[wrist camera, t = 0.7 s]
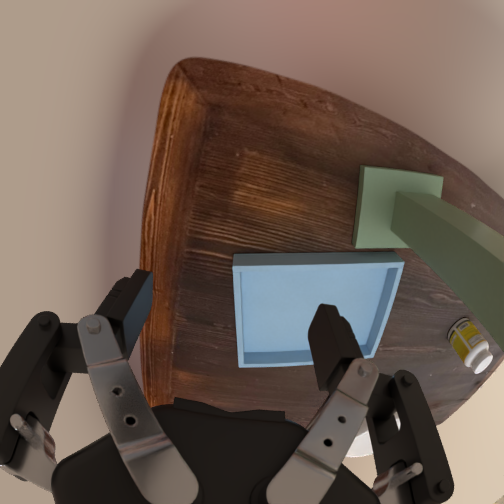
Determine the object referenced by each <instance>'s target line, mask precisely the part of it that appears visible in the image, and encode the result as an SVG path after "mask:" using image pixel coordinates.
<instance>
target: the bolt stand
mask: <svg viewBox="0 0 504 504" xmlns="http://www.w3.org/2000/svg"><path fill="white" fill-rule="evenodd" d="M442 185H443V177H442V176H439V175H436V174H430V173H424V172H417V171H410V170H402V169H394V168H386V167H376V166H366V165H360V175H359V187H358V197H357V207H356V215H355V223H354V231H353V238H352V244H353V246H354V247H355V248H411V249H412V250H413V251H414V252H415V253H416V254H417V255H418V256H419V257H420V258H421V259H422V260H423V261H424V262H425V263H426V264H427V265H428V266H429V267H430V268H431V269H432V270H433V271H434V272H435V273H436V274H437V275H438V276H439V277H440V278H441V279H442V280H443V281H444V282H445V283H446V284H447V285H448V286H449V287H450V288H451V289H452V290H453V291H454V293H455V294H456V295H457V296H458V297H459V298H460V299H461V300H462V301H463V302H464V304H465V305H466V306H467V307H468V308H469V309H470V310H471V312H472V313H473V314H474V315H475V316H476V318H477V319H478V320H479V321H480V322H481V324H482V325H483V326H484V327H485V328H486V330H487V331H488V332H489V333H490V335H491V336H492V337H493V339H494V340H495V341H496V343H497V344H498V345H499V347H500V348H501V349H502V351H503V352H504V237H503V236H502V235H500V234H499V233H497V232H496V231H494V230H493V229H491V228H490V227H488V226H487V225H485V224H484V223H482V222H480V221H479V220H477V219H475V218H474V217H472V216H470V215H469V214H467V213H465V212H464V211H462V210H460V209H458V208H457V207H455V206H453V205H451V204H449V203H448V202H446V201H444V200H442V199H440V198H441V192H442Z"/></svg>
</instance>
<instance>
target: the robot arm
mask: <svg viewBox="0 0 504 504" xmlns="http://www.w3.org/2000/svg"><path fill="white" fill-rule="evenodd" d="M152 290H153V273H152V272H150V271H145V270H141V269H136V270H135V272H134V273H133V275H132V276H131V278H128V277H124V278H122V279H120V280H119V281H117V282H116V283H115V285H114V286H113V288H112V290H110V292H109V294H108V295H107V296H106V298H105V299H104V301H103V302H102V303H101V305H100V306H99V308H98V309H97V311H96V312H95V314H92V315H87V316H85V317H83V318H82V319H81V320H80V321H79V322H78V323H76V324H75V323H60V320H59V317H58V316H57V315H56V314H55V313H53V312H50V311H44V312H40V313H38V314H36V315H35V316H34V317H33V318H32V319H31V321H30V322H29V324H28V325H27V326H26V328H25V329H24V331H23V332H22V334H21V335H20V337H19V338H18V340H17V341H16V343H15V344H14V346H13V347H12V349H11V350H10V352H9V354H8V355H7V357H6V359H5V360H4V362H3V363H2V365H1V367H0V468H2V469H3V470H4V471H6V472H7V473H9V474H11V475H13V476H15V477H17V478H18V479H20V480H22V481H29V482H32V483H33V484H35V485H37V486H39V487H40V488H43V489H44V490H46V491H49V492H51V493H52V494H53V497H54V501H55V504H441V503H443V502H445V501H447V500H448V499H449V498H450V497H451V496H452V494H453V491H454V482H453V478H452V474H451V471H450V467H449V464H448V461H447V457H446V454H445V451H444V448H443V445H442V442H441V439H440V436H439V433H438V430H437V428H436V425H435V422H434V420H433V417H432V414H431V412H430V409H429V406H428V404H427V401H426V399H425V397H424V394H423V392H422V389H421V387H420V385H419V382H418V380H417V378H416V377H415V376H414V375H413V374H412V373H410V372H409V371H406V370H399V371H397V372H396V373H395V374H394V376H393V377H392V376H388V375H385V374H381V373H379V370H378V368H377V367H376V365H375V364H374V363H373V362H371V361H370V360H368V359H365V358H364V356H363V354H362V351H361V349H360V346H359V344H358V342H357V339H355V338H356V337H355V334H354V333H353V330H352V327H351V325H350V323H349V322H348V321H347V320H346V319H345V318H344V316H340V314H339V311H338V309H337V307H336V306H335V305H330V304H323V303H321V304H320V305H319V306H318V308H317V311H316V313H315V315H314V317H313V320H312V322H311V324H310V326H309V329H308V342H309V346H310V350H311V355H312V359H313V364H314V368H315V373H316V377H317V382H318V387H319V391H328V392H329V395H328V397H327V398H326V399H325V401H324V402H323V404H322V405H321V407H320V408H319V410H318V411H317V413H316V414H315V416H314V417H313V419H312V420H311V421H310V423H309V424H308V425H307V427H306V428H304V427H302V426H301V425H299V424H297V423H295V422H293V421H290V420H288V419H285V412H284V411H270V410H251V411H242V412H227V411H224V410H221V409H219V408H216V407H213V406H211V405H208V404H205V403H203V402H198V401H192V400H187V399H182V398H177V397H175V399H174V403H173V404H166V405H159V406H155V407H152V408H150V406H149V404H148V402H147V400H146V398H145V396H144V394H143V392H142V391H141V388H140V386H139V384H138V382H137V380H136V378H135V376H134V374H133V372H132V369H131V367H130V365H129V363H128V361H127V360H129V358H130V355H131V353H132V351H133V348H134V346H135V343H136V341H137V339H138V336H139V334H140V332H141V330H142V327H143V325H144V323H145V321H146V318H147V316H148V314H149V312H150V309H151V305H152ZM72 373H87V374H89V376H90V380H91V383H92V386H93V389H94V392H95V395H96V398H97V401H98V403H99V406H100V409H101V411H102V414H103V417H104V419H105V422H106V424H107V426H108V429H109V431H110V433H108V434H106V435H105V436H103V437H101V438H100V439H98V440H96V441H94V442H93V443H91V444H89V445H88V446H86V447H84V448H82V449H81V450H79V451H77V452H75V453H74V454H72V455H70V456H68V457H66V458H65V459H63V460H61V461H60V462H59V463H58V464H57V462H56V459H55V442H54V440H53V438H52V437H51V435H50V434H49V431H50V428H51V425H52V422H53V419H54V417H55V414H56V411H57V409H58V406H59V404H60V401H61V398H62V396H63V393H64V391H65V389H66V386H67V384H68V382H69V379H70V377H71V375H72ZM396 412H397V414H398V417H399V420H400V429H398V426H397V422H396V419H395V416H394V414H395V413H396ZM364 418H366V422H367V426H368V431H369V435H370V440H371V445H372V450H373V454H374V459H375V465H376V470H377V477H376V479H375V481H374V484H373V488H372V489H370V488H369V487H368V486H367V485H366V484H365V483H364V482H362V481H361V480H360V479H359V478H358V477H357V476H356V475H354V474H353V473H352V472H351V471H350V470H349V469H348V468H347V467H346V466H344V465H343V464H342V461H343V459H344V458H345V456H346V454H347V452H348V450H349V449H350V447H351V445H352V443H353V441H354V439H355V437H356V435H357V433H358V431H359V429H360V427H361V425H362V423H363V421H364Z"/></svg>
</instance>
